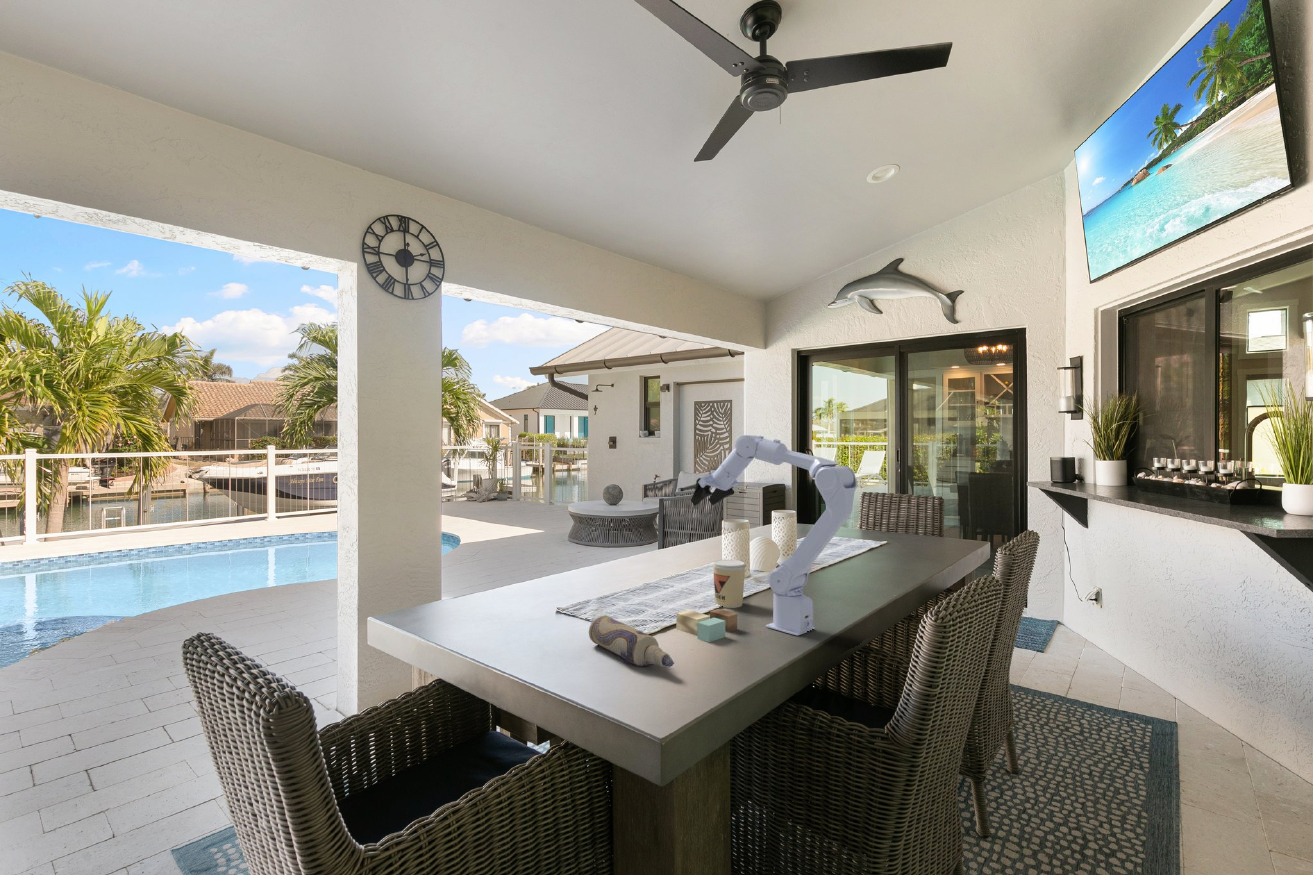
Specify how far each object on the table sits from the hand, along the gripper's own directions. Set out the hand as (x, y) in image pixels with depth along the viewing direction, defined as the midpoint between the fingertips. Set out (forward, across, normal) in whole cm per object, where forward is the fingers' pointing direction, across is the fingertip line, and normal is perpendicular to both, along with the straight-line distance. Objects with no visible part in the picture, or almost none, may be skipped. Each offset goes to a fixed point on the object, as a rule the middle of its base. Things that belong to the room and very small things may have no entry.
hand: (702, 502), depth 169 cm
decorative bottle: (+12, +40, +34) cm, 54 cm away
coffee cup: (+18, -10, +23) cm, 31 cm away
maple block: (+14, +15, +30) cm, 36 cm away
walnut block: (+10, +8, +33) cm, 35 cm away
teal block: (+9, +16, +35) cm, 40 cm away
